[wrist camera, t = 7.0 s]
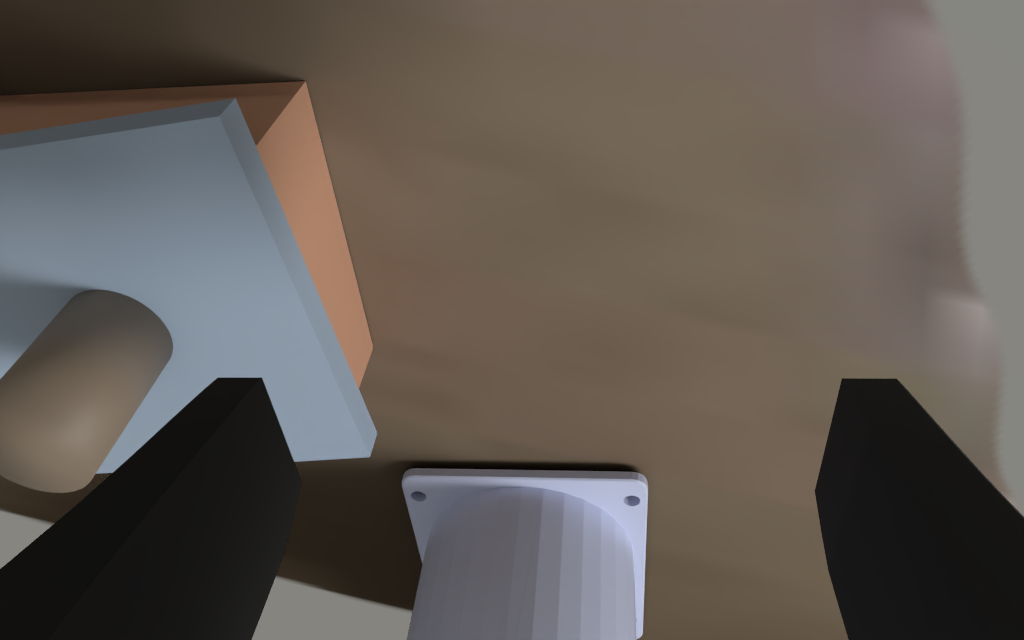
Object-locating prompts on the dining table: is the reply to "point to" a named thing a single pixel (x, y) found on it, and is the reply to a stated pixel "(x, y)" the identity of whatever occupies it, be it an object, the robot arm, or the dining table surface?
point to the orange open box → (287, 159)
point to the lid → (153, 295)
